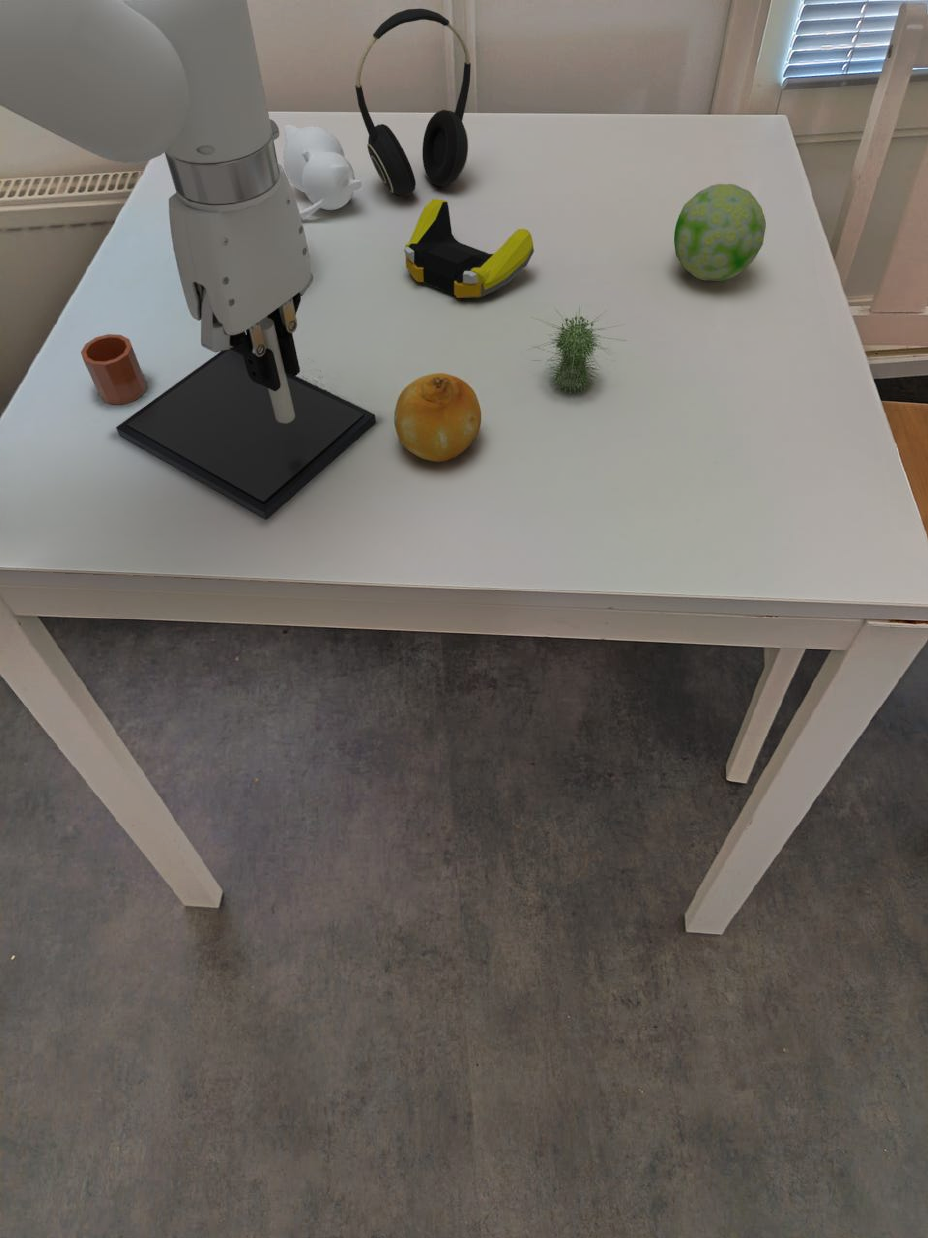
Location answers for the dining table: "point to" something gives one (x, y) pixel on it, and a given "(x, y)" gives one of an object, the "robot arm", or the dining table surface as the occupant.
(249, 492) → the tablet
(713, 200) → the decorative ball
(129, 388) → the pen cup
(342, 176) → the cat figurine
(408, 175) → the headphones
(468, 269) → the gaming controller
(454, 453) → the fruit
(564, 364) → the small spiny cactus
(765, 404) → the dining table surface
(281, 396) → the stylus
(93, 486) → the dining table surface
